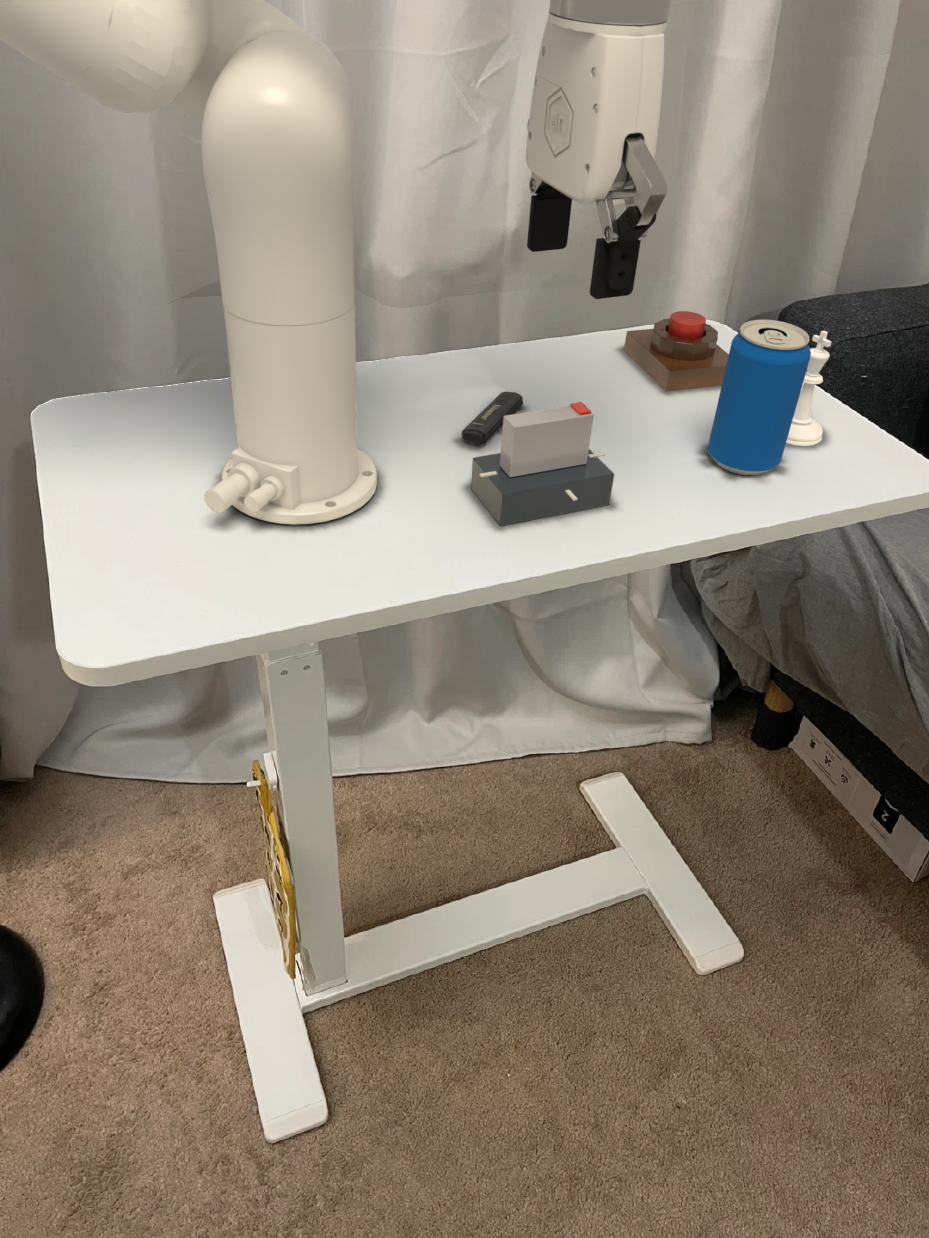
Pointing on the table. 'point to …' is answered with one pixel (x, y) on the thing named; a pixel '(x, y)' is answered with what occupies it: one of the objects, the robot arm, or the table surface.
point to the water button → (686, 325)
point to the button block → (678, 357)
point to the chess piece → (809, 397)
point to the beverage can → (759, 396)
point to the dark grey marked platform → (540, 489)
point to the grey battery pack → (545, 439)
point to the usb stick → (492, 418)
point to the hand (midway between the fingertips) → (577, 271)
